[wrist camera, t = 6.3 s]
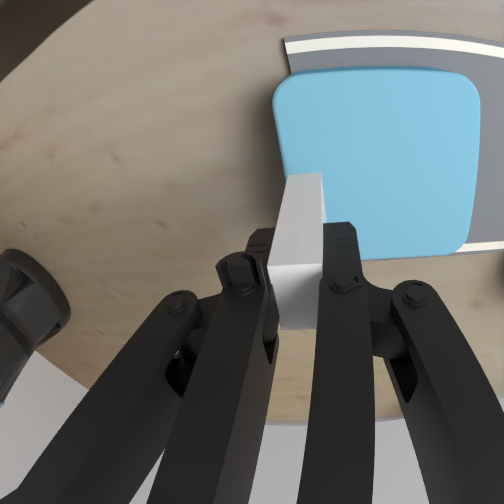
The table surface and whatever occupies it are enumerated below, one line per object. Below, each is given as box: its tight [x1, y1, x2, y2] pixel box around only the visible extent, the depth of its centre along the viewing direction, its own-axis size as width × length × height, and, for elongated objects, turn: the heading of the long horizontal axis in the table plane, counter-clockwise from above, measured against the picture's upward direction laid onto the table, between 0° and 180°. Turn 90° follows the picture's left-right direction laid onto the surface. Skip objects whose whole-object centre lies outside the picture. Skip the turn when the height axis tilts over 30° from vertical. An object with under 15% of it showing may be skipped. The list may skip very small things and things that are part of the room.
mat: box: [284, 30, 504, 261], centre depth 19 cm, size 19×18×1 cm
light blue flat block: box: [272, 66, 480, 260], centre depth 18 cm, size 12×4×12 cm
